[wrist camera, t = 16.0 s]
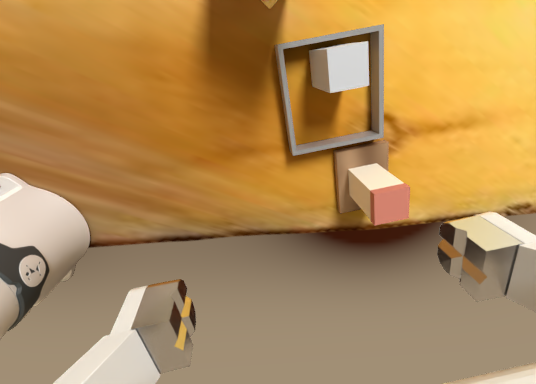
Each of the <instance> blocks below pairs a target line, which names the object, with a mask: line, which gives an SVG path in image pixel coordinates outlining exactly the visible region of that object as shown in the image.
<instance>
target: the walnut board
mask: <svg viewBox="0 0 536 384" xmlns="http://www.w3.org/2000/svg"><path fill="white" fill-rule="evenodd" d="M334 163H335V176H336V190H337V203H338V211H339V212H340V214H341V213H345V212H350V211H355V210H360V209H361V208H360V207H359V206H358V204H357V203H356V202H355V201H354V200H353V199H352V197H351V196H350V194H349V176H348V169H351V168H356V167H361V166H366V165H371V164H375V163H377V164H378V165H380V166H381V167H383V168H384V169H385V170H387V171H388V142H387V141H385V140H383V141H378V142H373V143H368V144H363V145H358V146H353V147H348V148H344V149H339V150H334Z"/></svg>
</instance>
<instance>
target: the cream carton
mask: <svg viewBox="0 0 536 384" xmlns="http://www.w3.org/2000/svg"><path fill="white" fill-rule="evenodd" d="M348 176H349V194H350V196H351V197H352V199H353V200H354V201H355V202H356V203H357V204H358V206H359V207H360V208H361V209H362V210H363V211H364V213H365V214H366V215H367V216H368V217H369V218H370V220H371V222H372V223H373V224H374V225H379V224H384V223H388V222H393V221H398V220H402V219H407V218H409V198H410V187H409V186H408V185H407V184H405V183H403V182H402V181H400V180H399V179H398V178H396V177H395V176H393V175H392V174H391V173H389V172H388V171H387V170H385V169H384V168H383V167H381V166H380V165H378V164H377V163H375V164H371V165H366V166H361V167H356V168H351V169H348Z"/></svg>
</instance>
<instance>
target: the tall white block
mask: <svg viewBox="0 0 536 384" xmlns="http://www.w3.org/2000/svg"><path fill="white" fill-rule="evenodd" d="M309 58H310V68H311V78H312V87H315V88H317V89H320V90H323V91H325V92H328V93H334V92H339V91H344V90H349V89H354V88H359V87H364V86H369V56H368V41H365V42H356V43H348V44H340V45H335V46H330V47H325V48H320V49H315V50H309Z"/></svg>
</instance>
